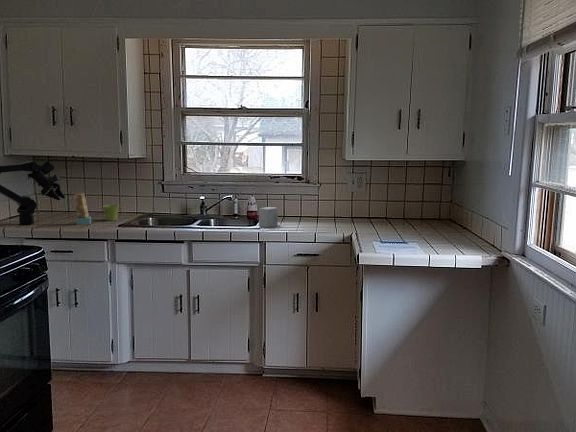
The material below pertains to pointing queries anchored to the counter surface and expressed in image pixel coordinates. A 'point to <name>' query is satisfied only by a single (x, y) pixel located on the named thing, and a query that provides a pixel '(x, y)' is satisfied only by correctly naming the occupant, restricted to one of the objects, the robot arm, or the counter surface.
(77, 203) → the oak pillar
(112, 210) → the plant pot
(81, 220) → the base block
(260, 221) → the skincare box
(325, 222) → the counter surface
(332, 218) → the counter surface
